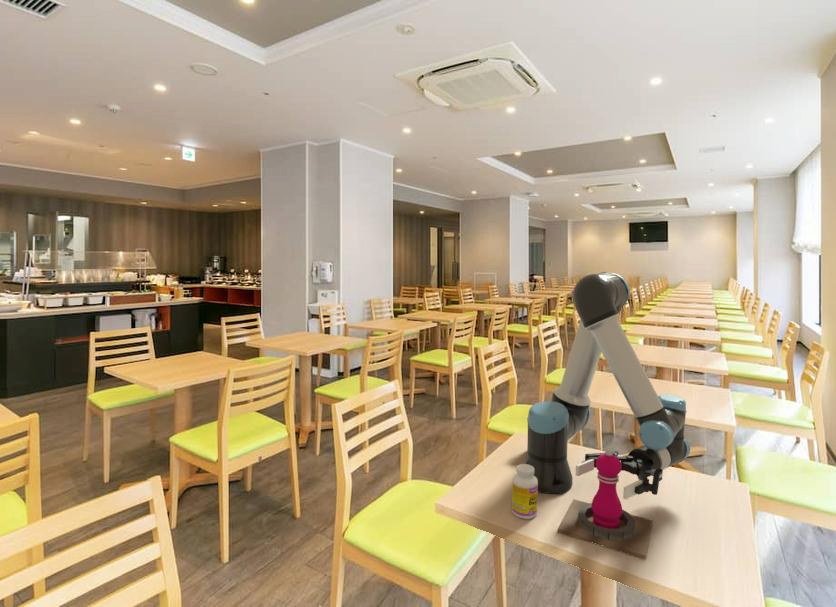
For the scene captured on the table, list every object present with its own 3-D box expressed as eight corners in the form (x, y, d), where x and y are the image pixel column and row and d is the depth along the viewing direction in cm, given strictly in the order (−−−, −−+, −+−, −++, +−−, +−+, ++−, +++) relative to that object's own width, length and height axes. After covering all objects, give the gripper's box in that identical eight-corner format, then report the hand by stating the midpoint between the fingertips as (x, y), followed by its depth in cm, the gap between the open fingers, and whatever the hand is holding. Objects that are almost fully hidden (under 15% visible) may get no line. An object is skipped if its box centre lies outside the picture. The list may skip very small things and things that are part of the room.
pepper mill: (587, 526, 118) (590, 451, 116) (594, 513, 124) (597, 441, 122) (618, 536, 114) (621, 458, 112) (624, 521, 120) (627, 447, 118)
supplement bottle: (530, 523, 122) (531, 476, 120) (507, 514, 126) (508, 468, 124) (541, 511, 127) (542, 466, 125) (519, 503, 131) (519, 459, 130)
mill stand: (557, 532, 118) (557, 521, 118) (573, 502, 131) (573, 492, 131) (645, 559, 107) (646, 547, 107) (652, 523, 121) (653, 513, 121)
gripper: (695, 492, 118) (647, 519, 106) (607, 455, 138) (559, 475, 127) (697, 463, 117) (648, 488, 105) (608, 431, 137) (559, 449, 126)
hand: (599, 481), depth 116 cm, fingers open, 13 cm apart
